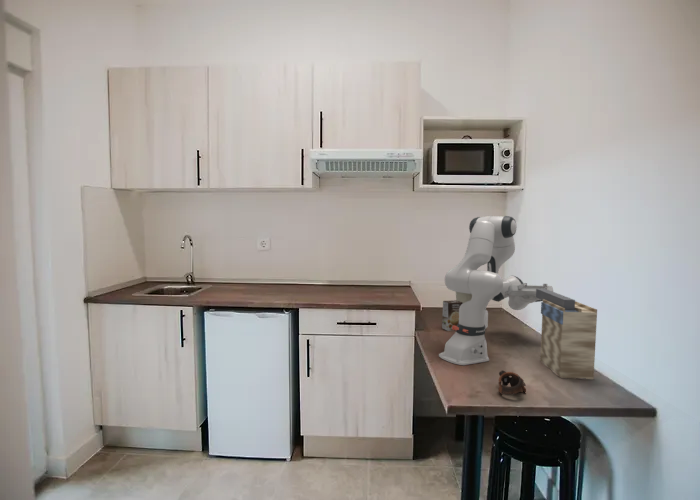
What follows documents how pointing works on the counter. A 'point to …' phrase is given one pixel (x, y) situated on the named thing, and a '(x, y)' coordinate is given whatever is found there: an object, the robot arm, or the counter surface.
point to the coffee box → (450, 314)
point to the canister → (463, 297)
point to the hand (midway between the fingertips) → (535, 284)
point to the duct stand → (568, 340)
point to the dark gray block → (556, 299)
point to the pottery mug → (514, 381)
